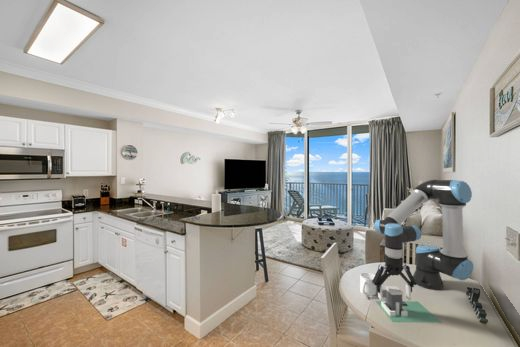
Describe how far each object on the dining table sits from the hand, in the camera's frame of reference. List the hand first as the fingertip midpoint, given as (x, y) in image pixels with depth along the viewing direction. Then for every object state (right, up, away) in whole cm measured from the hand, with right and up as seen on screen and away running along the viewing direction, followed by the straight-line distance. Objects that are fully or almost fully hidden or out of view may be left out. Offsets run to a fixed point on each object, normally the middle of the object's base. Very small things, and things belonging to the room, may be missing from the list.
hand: (394, 298), depth 109 cm
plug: (0, -6, 0) cm, 6 cm away
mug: (-6, -7, +16) cm, 19 cm away
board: (+6, -7, 0) cm, 9 cm away
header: (0, -6, 0) cm, 6 cm away
